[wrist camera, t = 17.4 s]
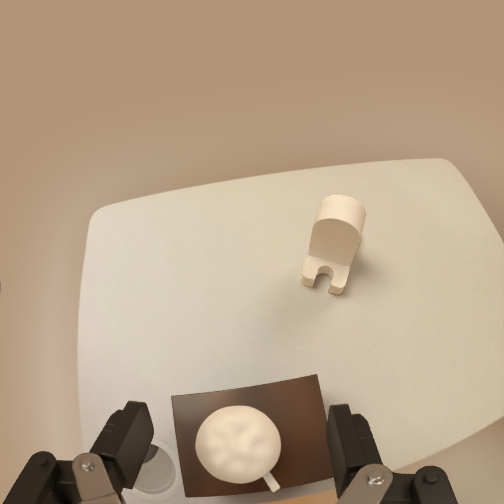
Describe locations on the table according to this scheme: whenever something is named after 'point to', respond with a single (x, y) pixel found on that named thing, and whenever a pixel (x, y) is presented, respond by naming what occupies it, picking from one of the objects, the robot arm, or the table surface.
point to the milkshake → (239, 445)
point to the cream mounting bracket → (334, 241)
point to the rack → (284, 418)
